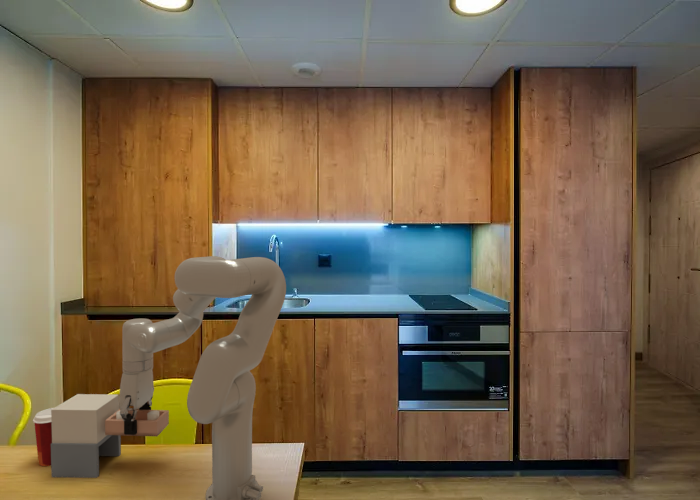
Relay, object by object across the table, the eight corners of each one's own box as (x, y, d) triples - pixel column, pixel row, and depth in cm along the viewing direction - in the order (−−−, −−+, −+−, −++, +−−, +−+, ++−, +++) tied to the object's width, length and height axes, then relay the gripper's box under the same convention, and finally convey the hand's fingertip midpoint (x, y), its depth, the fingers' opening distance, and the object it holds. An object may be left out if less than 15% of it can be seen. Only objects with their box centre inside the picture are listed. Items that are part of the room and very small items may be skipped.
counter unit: (120, 454, 120) (119, 393, 120) (96, 477, 109) (95, 411, 108) (80, 453, 120) (78, 393, 120) (51, 477, 109) (49, 410, 108)
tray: (168, 424, 118) (168, 407, 118) (157, 436, 111) (157, 419, 111) (119, 422, 118) (119, 406, 118) (105, 434, 111) (105, 417, 111)
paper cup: (74, 454, 120) (72, 407, 120) (52, 469, 113) (51, 419, 112) (49, 452, 121) (48, 405, 120) (26, 467, 113) (24, 417, 113)
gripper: (140, 354, 122) (140, 412, 123) (105, 375, 105) (105, 443, 106) (165, 354, 122) (165, 413, 123) (135, 376, 105) (135, 444, 106)
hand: (138, 426), depth 114 cm, fingers closed on tray, 7 cm apart
